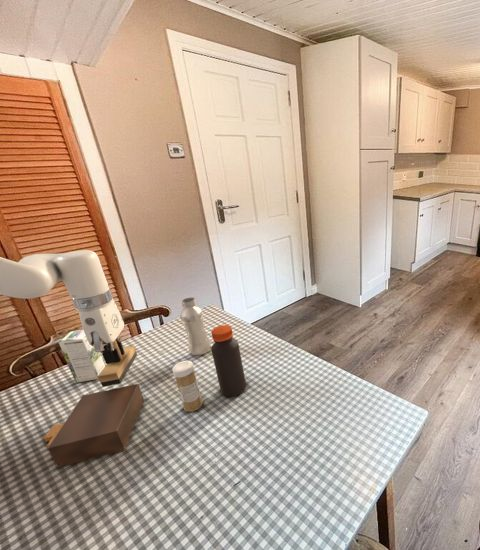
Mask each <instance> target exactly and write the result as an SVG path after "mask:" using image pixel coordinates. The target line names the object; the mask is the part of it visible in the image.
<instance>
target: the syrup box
mask: <svg viewBox="0 0 480 550" xmlns="http://www.w3.org/2000/svg"><path fill="white" fill-rule="evenodd" d="M58 345H59V347H60V349H61V352H62V355H63V357H64V359H65V361H66V364H67V366H68V368H69V370H70V373H71V376H72V378H73V380H74V382H75V384H77V383H83V382H88V381H94V380H99V378H98V376H99V374H100V373H101V371H102V370H103V369H104V367H105V366H106V362H105V360H104V357H103V355H102V353H100V352H95V348H94V346H91V345H90V344H89V342H88V340H87V338H86V336H85V333H84V330H83V329H79V330H73V331H70V332H69V333H67V334H66V335H65V336H64V337H63V338H62V339H61V340H59V342H58Z"/></svg>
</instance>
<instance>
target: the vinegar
mask: <svg viewBox="0 0 480 550" xmlns="http://www.w3.org/2000/svg"><path fill="white" fill-rule="evenodd" d="M210 333H211V337H212V340H213V344H212V346H211V347H210V350H211V355H212V359H213V363H214V364H213V365H214V368H215V372H216V377H217V381H218V384H219V389H220V394H221V395H222V396H223V397H225V398H232V397H237V396H238V395H240V394H242V393H243V392H244V391H245V390H246V388H247V382H246V377H245V371H244V365H243V360H242V355H241V351H240V345H239V344H240V343H239V341H238V340H237V339H235V338H233V337H234V333H233V329H232V326H231V325H228V324H222V325H217V326H216V327H213V329H212V330H211V332H210Z"/></svg>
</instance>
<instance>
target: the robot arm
mask: <svg viewBox="0 0 480 550" xmlns="http://www.w3.org/2000/svg"><path fill="white" fill-rule="evenodd" d="M60 282H63V283H64V285H65V288H66V290H67V293H68V296H69V298H70V300H71V302H72V305H73V307H74V310H75V311H77V312H78V315H79V319H80V324H81V327H82V330H84V333H85V336H86V338H87V340H88V342H89V344H90V345H91V346H94V348H95V352H100V353H102V356H103V359H104V362H105V364H110V363H116V362H120V360H121V359H120V356H119V353H118V351H117V348H114V345H113V342H114V341H115V339H116V342H117V344H118V347H119V349H120V352H121V355H124V354H125V352H124V349H123V347H124V346H123V344H122V341H121V339H122V338H121V336H120V334H121V332H122V331H123V330H124V327H125V322H124V319H123V317H122V315H121V312H120V310H119V308H118V306H117V304H116V302H115V300H114V298H113V295H112V292H111V288H110V286H109V283H108V281H107V277H106V275H105V273H104V269H103V266H102V265H101V261H100V258H99V256H98V254H97V253H96V252H95V251H93V250H89V249H82V250H81V249H80V250H73V251H68V252H62V253H35V254H30V255H27V256H24V257H23V258H21V259H20V260H19V261H15V260H11V259H8V258H5V257H1V256H0V295H1V296H5V297H9V298H14V299H15V298H16V299H27V300H29V299H35V298H39V297H43V296H44V295H46V294H48V293H49V292H50V291H51V290H52V289H53V288H54V286H55V285H56V284H58V283H60ZM107 343H108V345H109V346H108V345H105V344H107Z"/></svg>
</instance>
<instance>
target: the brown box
mask: <svg viewBox="0 0 480 550" xmlns="http://www.w3.org/2000/svg"><path fill="white" fill-rule="evenodd" d="M144 399H145V398H144V396H143V393H142V389H141V387H140V385H139V383H136V384H131V385H130V384H129V385H126V386H120V387H116V388H112V389H106V390H102V391H97V392H92V393H88V394H83V395H82V396H81V397H80V399H79V400H78V402H77V403H76V404H75V407H74V408H73V410H72V411H71V412H70V414H69V416H68V417H67V418H66V420H65V421H64V422H63V423H64V425H63V426H62V428H61V429H60V431H59V432H58V434H57V435H56V437H55V438H54V440H53V441H52V443H51V444H50V446H49V447H48V448H47V451H48V452H49V454H50V456H51V457H52V459H53V461H54V463H55V465H56V466H57V468H58V469H60V468H65V467H67V466H71V465H74V464H75V465H76V464H78V463H82V462H86V461H90V460H94V459H97V458H101V457H104V456H107V455H112V454H114V453H120V452H123V451H125V450H126V449H127V445H128V443H129V440H130V438H131V436H132V432H133V430H134V428H135V425H136V423H137V420H138V418H139V415H140V413H141V410H142V408H143V405H144V403H145V400H144Z"/></svg>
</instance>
